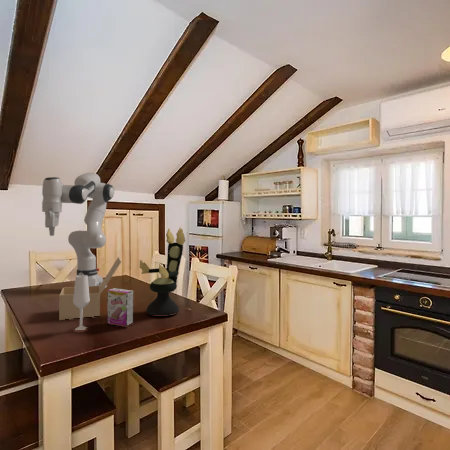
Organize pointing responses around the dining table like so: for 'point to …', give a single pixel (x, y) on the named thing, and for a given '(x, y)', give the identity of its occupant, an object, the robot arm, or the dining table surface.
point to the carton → (71, 311)
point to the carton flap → (110, 274)
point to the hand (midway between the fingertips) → (51, 235)
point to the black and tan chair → (166, 277)
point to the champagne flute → (81, 296)
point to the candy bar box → (119, 306)
